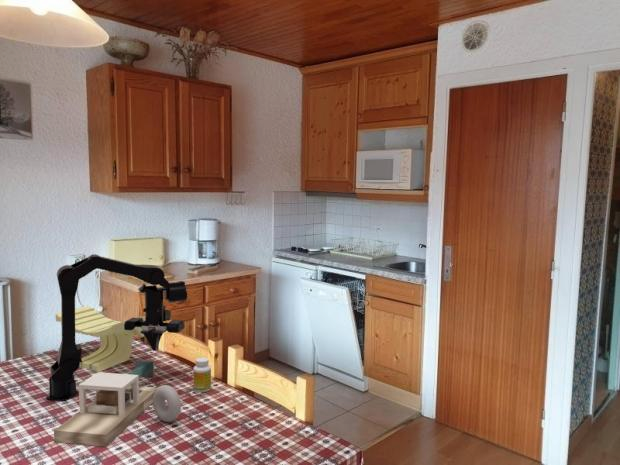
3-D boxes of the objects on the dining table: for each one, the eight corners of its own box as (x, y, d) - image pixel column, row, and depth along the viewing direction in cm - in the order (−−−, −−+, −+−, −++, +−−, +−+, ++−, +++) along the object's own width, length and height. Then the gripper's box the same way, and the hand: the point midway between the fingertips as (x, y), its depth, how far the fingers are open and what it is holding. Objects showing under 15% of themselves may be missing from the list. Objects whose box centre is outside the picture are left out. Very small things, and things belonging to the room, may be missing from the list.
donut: (184, 423, 133) (183, 388, 133) (174, 428, 131) (173, 392, 130) (160, 413, 139) (159, 379, 138) (150, 418, 136) (149, 383, 135)
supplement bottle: (206, 393, 153) (206, 363, 152) (190, 391, 154) (190, 361, 153) (213, 386, 158) (213, 357, 158) (198, 385, 160) (197, 356, 159)
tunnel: (79, 413, 132) (78, 384, 132) (98, 399, 141) (97, 372, 140) (122, 416, 131) (122, 387, 130) (139, 402, 139) (138, 375, 139)
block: (96, 411, 134) (96, 393, 133) (106, 403, 139) (106, 386, 138) (113, 412, 133) (113, 394, 133) (123, 404, 138) (122, 387, 138)
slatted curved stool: (151, 361, 181) (150, 313, 179) (116, 376, 166) (115, 324, 165) (93, 348, 194) (92, 304, 192) (57, 361, 180) (55, 313, 178)
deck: (54, 441, 123) (53, 430, 123) (115, 394, 152) (115, 384, 152) (106, 446, 121) (106, 434, 121) (158, 397, 150) (158, 387, 150)
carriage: (88, 412, 132) (87, 391, 132) (133, 377, 157) (133, 359, 157) (116, 414, 131) (115, 393, 131) (157, 378, 156) (157, 361, 155)
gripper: (190, 299, 168) (191, 344, 169) (139, 297, 171) (139, 341, 172) (177, 307, 157) (177, 355, 158) (122, 304, 160) (123, 351, 161)
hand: (154, 350), depth 163 cm, fingers closed
